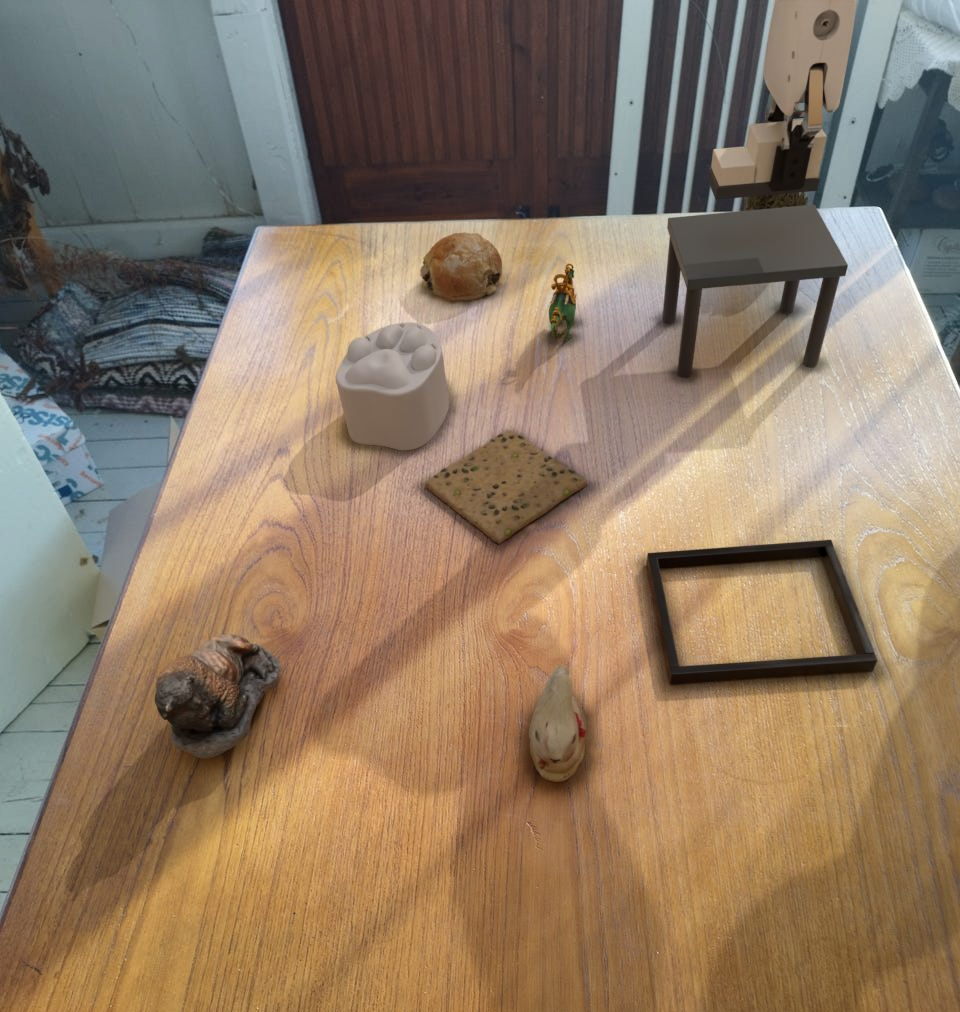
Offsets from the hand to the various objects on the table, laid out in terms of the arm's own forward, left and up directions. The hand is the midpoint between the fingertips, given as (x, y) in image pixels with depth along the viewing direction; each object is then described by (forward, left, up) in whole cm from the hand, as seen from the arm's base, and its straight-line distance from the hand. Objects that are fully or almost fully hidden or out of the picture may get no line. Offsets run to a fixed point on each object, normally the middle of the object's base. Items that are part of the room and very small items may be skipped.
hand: (779, 174), depth 87 cm
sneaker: (+2, 0, -1) cm, 2 cm away
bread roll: (+33, -18, -19) cm, 42 cm away
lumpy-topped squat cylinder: (+40, +8, -19) cm, 45 cm away
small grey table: (+1, 0, -19) cm, 19 cm away
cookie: (+29, +22, -19) cm, 41 cm away
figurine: (+21, -4, -19) cm, 29 cm away
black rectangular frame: (+8, +41, -19) cm, 46 cm away
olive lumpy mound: (-6, -17, -19) cm, 26 cm away
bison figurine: (+53, +48, -19) cm, 74 cm away
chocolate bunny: (+26, +53, -19) cm, 62 cm away
